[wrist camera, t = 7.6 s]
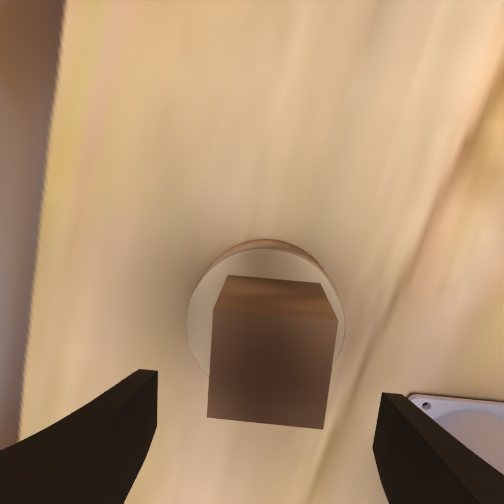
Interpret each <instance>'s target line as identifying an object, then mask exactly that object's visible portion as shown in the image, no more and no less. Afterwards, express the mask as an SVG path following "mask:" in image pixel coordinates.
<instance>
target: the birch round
mask: <svg viewBox="0 0 504 504" xmlns="http://www.w3.org/2000/svg"><path fill="white" fill-rule="evenodd" d="M228 275H236V276H248V277H259V278H270V279H281V280H292V281H303V282H314V283H320V284H321V286H322V288H323V290H324V292H325V294H326V296H327V298H328V300H329V302H330V304H331V306H332V308H333V310H334V312H335V314H336V316H337V318H338V327H337V335H336V342H335V349H334V356H333V363H332V366H333V365H334V363H335V362H336V360H337V358H338V356H339V354H340V351H341V348H342V345H343V340H344V334H345V321H344V313H343V310H342V306H341V303H340V300H339V297H338V295H337V293H336V290H335V288H334V287H333V285H332V283H331V281H330V280H329V278H328V276H327V275H326V273H325V271H324V270H323V268H322V267H321V266H320V264H319V263H318V262H317V261H316V260H315V259H314V258H313V257H312V256H311V255H309V254H308V253H306V252H305V251H304V250H302V249H300V248H298V247H296V246H294V245H292V244H289V243H286V242H282V241H278V240H268V239H267V240H254V241H248V242H245V243H242V244H239V245H237V246H234V247H232V248H231V249H229V250H227V251H226V252H224V253H223V254H222V255H221V256H219V257H218V258H217V259H216V260H215V261H214V262H213V263H212V264H211V266H210V267H209V269H208V270H207V272H206V273H205V274H204V276H203V277H202V279H201V280H200V282H199V283H198V285H197V287H196V289H195V291H194V293H193V295H192V297H191V300H190V303H189V306H188V310H187V315H186V334H187V339H188V344H189V347H190V349H191V352H192V354H193V356H194V358H195V360H196V362H197V363H198V365H199V366H200V367H201V369H202V370H203V371H204V372H205V373H206V374H207V376H208V377H209V373H210V355H211V337H212V319H213V308H214V306H215V303H216V301H217V299H218V296H219V294H220V292H221V289H222V287H223V285H224V283H225V280H226V278H227V276H228Z"/></svg>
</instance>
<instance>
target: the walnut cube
mask: <svg viewBox="0 0 504 504" xmlns="http://www.w3.org/2000/svg"><path fill="white" fill-rule="evenodd" d="M337 327H338V318H337V316H336V314H335V312H334V310H333V308H332V306H331V304H330V302H329V300H328V298H327V296H326V294H325V292H324V290H323V288H322V286H321V284H320V283H314V282H303V281H292V280H281V279H270V278H259V277H248V276H236V275H228V276H227V278H226V280H225V283H224V285H223V287H222V289H221V292H220V294H219V296H218V299H217V301H216V303H215V306H214V308H213V319H212V337H211V355H210V373H209V390H208V408H207V418H217V419H227V420H237V421H246V422H256V423H266V424H275V425H285V426H295V427H305V428H314V429H323V427H324V419H325V412H326V405H327V398H328V391H329V384H330V377H331V370H332V363H333V356H334V349H335V342H336V335H337Z"/></svg>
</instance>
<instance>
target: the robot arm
mask: <svg viewBox="0 0 504 504" xmlns="http://www.w3.org/2000/svg"><path fill="white" fill-rule="evenodd" d="M157 390H158V371H154V370H144V369H139V370H137V371H135V372H134V373H132V374H131V375H129V376H128V377H126V378H125V379H123V380H122V381H121V382H119V383H118V384H116V385H115V386H113V387H112V388H110V389H109V390H107V391H106V392H104V393H103V394H101V395H100V396H98V397H97V398H95V399H94V400H92V401H91V402H89V403H88V404H86V405H84V406H83V407H81V408H79V409H78V410H76V411H74V412H73V413H71V414H70V415H68V416H66V417H65V418H63V419H61V420H60V421H58V422H56V423H54V424H53V425H51V426H49V427H47V428H45V429H44V430H42V431H40V432H38V433H36V434H34V435H32V436H30V437H28V438H26V439H24V440H22V441H20V442H18V443H16V444H14V445H12V446H10V447H7V448H5V449H3V450H0V504H124V501H125V499H126V497H127V495H128V493H129V491H130V489H131V487H132V485H133V483H134V481H135V479H136V477H137V475H138V473H139V471H140V469H141V467H142V465H143V462H144V460H145V458H146V456H147V453H148V450H149V448H150V445H151V442H152V439H153V436H154V433H155V430H156V427H157ZM425 402H428V403H427V405H424V406H422V405H423V403H425ZM373 452H374V456H375V460H376V464H377V468H378V472H379V476H380V480H381V483H382V486H383V489H384V491H385V494H386V497H387V499H388V502H389V504H504V403H503V402H493V401H482V400H472V399H461V398H450V397H440V396H429V395H419V394H415V395H412V396H410V397H409V398H408V399H407V398H406V397H405V396H403V395H402V394H393V393H383V392H382V396H381V402H380V408H379V413H378V419H377V425H376V431H375V437H374V442H373Z"/></svg>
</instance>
